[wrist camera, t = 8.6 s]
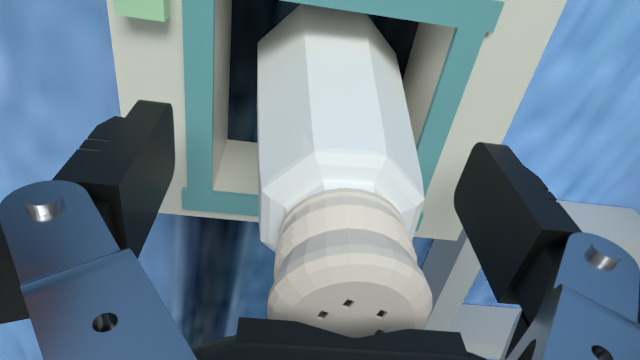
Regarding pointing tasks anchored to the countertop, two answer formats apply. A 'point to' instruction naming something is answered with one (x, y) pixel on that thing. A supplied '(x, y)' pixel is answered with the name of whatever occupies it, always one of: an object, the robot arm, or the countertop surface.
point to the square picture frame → (463, 266)
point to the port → (418, 83)
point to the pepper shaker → (338, 176)
